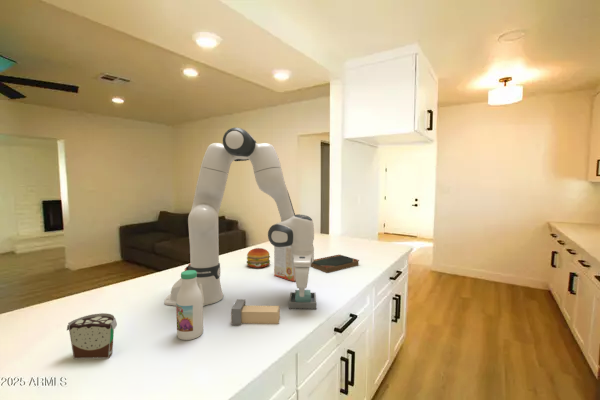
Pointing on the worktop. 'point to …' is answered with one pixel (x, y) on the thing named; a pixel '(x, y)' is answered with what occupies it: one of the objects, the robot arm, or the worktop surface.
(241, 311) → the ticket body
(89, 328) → the food container
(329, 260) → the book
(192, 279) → the milk bottle
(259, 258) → the burger
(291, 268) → the cracker box
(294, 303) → the tray
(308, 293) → the stub
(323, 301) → the worktop surface
